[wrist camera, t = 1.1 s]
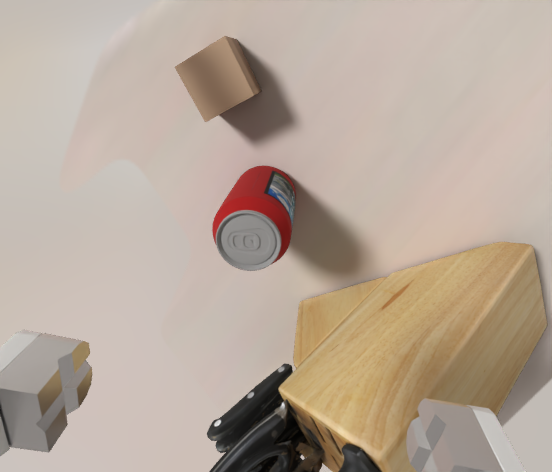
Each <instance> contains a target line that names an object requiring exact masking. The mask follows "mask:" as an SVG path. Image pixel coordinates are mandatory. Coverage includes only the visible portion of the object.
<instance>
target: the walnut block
mask: <svg viewBox="0 0 552 472" xmlns="http://www.w3.org/2000/svg"><path fill="white" fill-rule="evenodd" d="M175 69H176V70H177V72H178V74H179V76H180V78H181V79H182V81H183V83H184V85H185V87H186V88H187V90H188V92H189V94H190V96H191V97H192V99H193V101H194V103H195V104H196V106H197V108H198V110H199V112H200V113H201V115H202V117H203V119H204V121H205V122H207V121H209V120H210V119H212V118H214V117H216V116H218V115H219V114H221V113H223V112H225V111H227V110H229V109H230V108H232V107H234V106H236V105H238V104H239V103H241V102H243V101H245V100H247V99H249V98H250V97H252V96H254V95H256V94H258V93H259V92H261V89H260V87H259V84H258V82H257V80H256V78H255V76H254V74H253V72H252V70H251V68H250V66H249V64H248V62H247V60H246V58H245V56H244V53H243V51H242V49H241V47H240V45H239V43H238V41H237V39H233V38H230V37H226V36H224V37H222V38H221V39H219V40H217V41H216V42H214V43H213V44H211V45H209V46H208V47H206V48H205V49H203V50H201V51H200V52H198V53H196V54H195V55H193V56H192V57H190V58H188V59H187V60H185V61H184V62H182V63H180V64H179V65H177V66H176V67H175Z"/></svg>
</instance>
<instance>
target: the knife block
mask: <svg viewBox="0 0 552 472" xmlns="http://www.w3.org/2000/svg"><path fill="white" fill-rule="evenodd" d="M546 327H547V320H546V314H545V308H544V303H543V296H542V290H541V284H540V279H539V274H538V268H537V263H536V258H535V252H534V248H533V246H532V245H529V244H520V243H509V242H498V243H493V244H489V245H486V246H482V247H479V248H475V249H472V250H468V251H465V252H461V253H458V254H455V255H451V256H448V257H445V258H441V259H438V260H435V261H431V262H428V263H425V264H421V265H418V266H414V267H411V268H408V269H404V270H401V271H398V272H395V273H392V274H390V275H389V276H388V277H382V278H379V279H375V280H372V281H368V282H364V283H361V284H357V285H354V286H351V287H347V288H344V289H340V290H337V291H333V292H330V293H327V294H323V295H320V296H317V297H313V298H310V299H307V300H304V301H301V302H300V304H299V310H298V319H297V328H296V336H295V346H294V357H293V359H294V365H295V367H296V370H295V371H294V372H293V371H292V366H291V365H289V364H283V365H282V366H281V367H280V368H278V369H277V370H276V371H275V372H273V373H272V374H271V375H270V376H268V377H267V378H266V379H265V380H263V381H262V382H261V383H259V384H258V385H257V386H256V387H255V388H254V389H252V390H251V391H250V392H249V393H248V394H247V395H246V396H245V397H244V398H242V399H241V400H240V401H239V402H238V403H237V404H236V405H235V406H233V407H232V408H231V409H230V410H229V411H228V412H227V413H225V414H224V415H223V416H222V417H220V418H219V419H217V420H214V421H213V422H212V424H211V426H210V428H209V430H208V432H207V435H208V438H209V439H210V440H212V441H217V443H216V448H217V450H218V451H219V452H220V453H223V452H226V453H225V454H224V455H223V456H222V457H221V459H220V460H219V461H218V462H217V463H216V464H215V466H214V467H213V468H212V469H211V470H210V472H319V471H320V469H321V467H322V463H323V464H324V465H325V466H327V467H328V468H329V469H330V470H331V471H333V472H417V471H416V470H415V469H414V468H413V467H412V465H411V464H410V461H409V457H408V453H407V445H406V440H407V430H408V428H409V425H410V423H411V421H412V420H414V419H416V418H418V417H419V413H418V410H417V408H418V406H419V404H420V402H421V401H422V400H423V399H425V398H427V399H433V400H440V401H446V402H453V403H459V404H464V405H471V406H477V407H483V408H489V409H490V410H491V411H492V412H493V413H494V414H495V416H497V414H498V412H499V411H500V409H501V407H502V405H503V403H504V402H505V400H506V398H507V396H508V395H509V393H510V391H511V389H512V387H513V386H514V384H515V382H516V380H517V379H518V377H519V375H520V373H521V371H522V370H523V368H524V366H525V364H526V363H527V361H528V359H529V357H530V355H531V353H532V352H533V350H534V348H535V346H536V344H537V343H538V341H539V339H540V337H541V336H542V334H543V332H544V330H545V329H546ZM301 455H303V456H304V458H305V459H304V460H302V459H301V458H300V456H301ZM306 457H307V458H306Z"/></svg>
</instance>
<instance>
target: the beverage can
mask: <svg viewBox="0 0 552 472" xmlns="http://www.w3.org/2000/svg"><path fill="white" fill-rule="evenodd" d="M295 201H296V192H295V188H294V185H293V183H292V181H291V180H290V178H289V177H288V176H287V175H286V174H285V173H284V172H282V171H281V170H279V169H277V168H274V167H270V166H257V167H254V168H251V169H249V170H248V171H246V172H245V173H244V174H243V175H242V176H241V177H240V178H239V180H238V181H237V183H236V184H235V185H234V187H233V188H232V190H231V191H230V193H229V194H228V196H227V198H226V199H225V201H224V202H223V204H222V206H221V207H220V209H219V211H218V212H217V214H216V216H215V218H214V222H213V237H214V241H215V243H216V245H217V249H218V251H219V253H220V255H221V256H222V257H223V259H224V260H225V261H226V262H228V263H229V264H230V265H232V266H234V267H236V268H238V269H241V270H247V271H255V270H260V269H263V268H266V267H267V266H269V265H271V264H273V263H274V262H276V261H277V260H279V259H280V258H281V257H282V256H283V255H284V253H285V252H286V250H287V249H288V246H289V243H290V239H291V232H292V226H293V219H294V211H295Z"/></svg>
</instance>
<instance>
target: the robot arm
mask: <svg viewBox="0 0 552 472" xmlns="http://www.w3.org/2000/svg"><path fill="white" fill-rule="evenodd" d="M89 354H90V349H89V343H87V342H85V341H81V340H76V339H71V338H66V337H60V336H56V335H51V334H46V333H44V334H43V333H38V332H33V331H28V330H22V331H20V332H17V333H15V334H14V335H13V336H12V337H11V338H10V339H9V340H8V341H7V342H5V343H4V344H3V345H2V346H1V347H0V456H1V455H3V454H4V453H5V452H7V451H8V450H9V449H10V448H9V447H14V448H20V449H28V450H35V451H42V452H49V451H50V450H51V449H52V447H53V446H54V444H55V443H56V441H57V439H58V438H59V437H60V435H61V434H62V432H63V431H64V429H65V428H66V426H67V414H69V413H71V412H72V411H74V410H76V409H77V408H79V407H80V405H81V404H82V402H83V400H84V399H85V397H86V395H87V393H88V390H89V387H90V385H91V380H92V367H91V366H90V365H89V364H88V362H87V361H86V358H87V357H88V356H89ZM417 410H418V413H419V417H418V418H416V419H414V420H412V421H411V423H410V425H409V428H408V430H407V440H406V445H407V453H408V457H409V461H410V464H411V465H412V467H413V468H414V469H415V470H416V471H417V472H526V470H525V468H524V466H523V465H522V463H521V461H520V459H519V457H518V456H517V454H516V452H515V450H514V448H513V447H512V445H511V443H510V441H509V439H508V438H507V436H506V434H505V432H504V431H503V429H502V427H501V425H500V423H499V421H498V419H497V418H496V416H495V414H494V413H493V412H492V411H491V410H490V409H489V408H483V407H477V406H471V405H464V404H459V403H453V402H446V401H440V400H433V399H427V398H425V399H423V400H422V401H421V402H420V404H419V406H418V408H417Z"/></svg>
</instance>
